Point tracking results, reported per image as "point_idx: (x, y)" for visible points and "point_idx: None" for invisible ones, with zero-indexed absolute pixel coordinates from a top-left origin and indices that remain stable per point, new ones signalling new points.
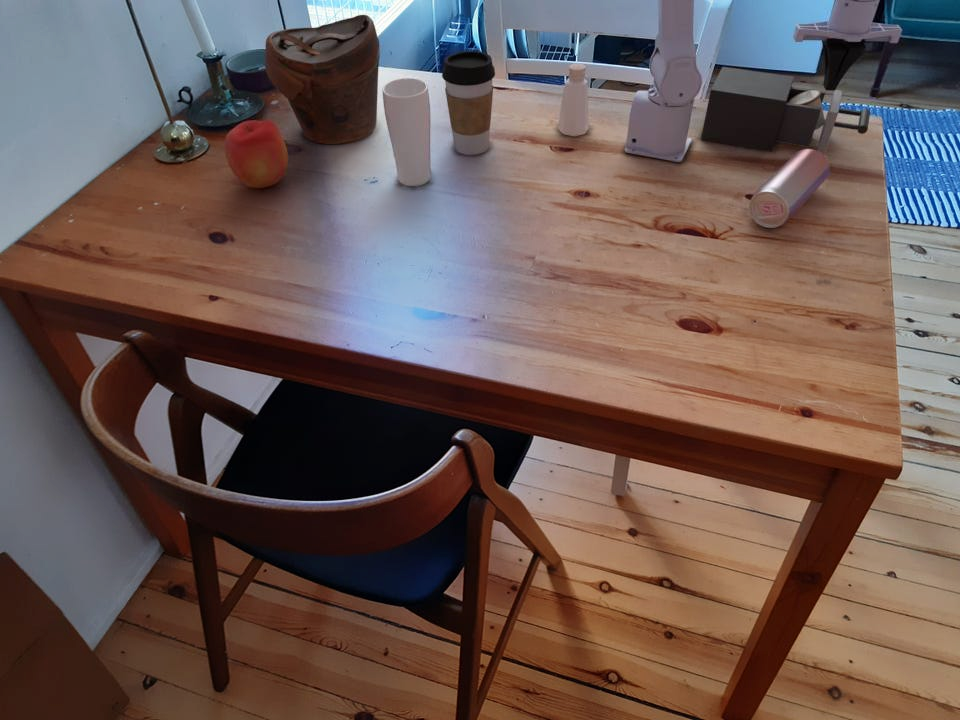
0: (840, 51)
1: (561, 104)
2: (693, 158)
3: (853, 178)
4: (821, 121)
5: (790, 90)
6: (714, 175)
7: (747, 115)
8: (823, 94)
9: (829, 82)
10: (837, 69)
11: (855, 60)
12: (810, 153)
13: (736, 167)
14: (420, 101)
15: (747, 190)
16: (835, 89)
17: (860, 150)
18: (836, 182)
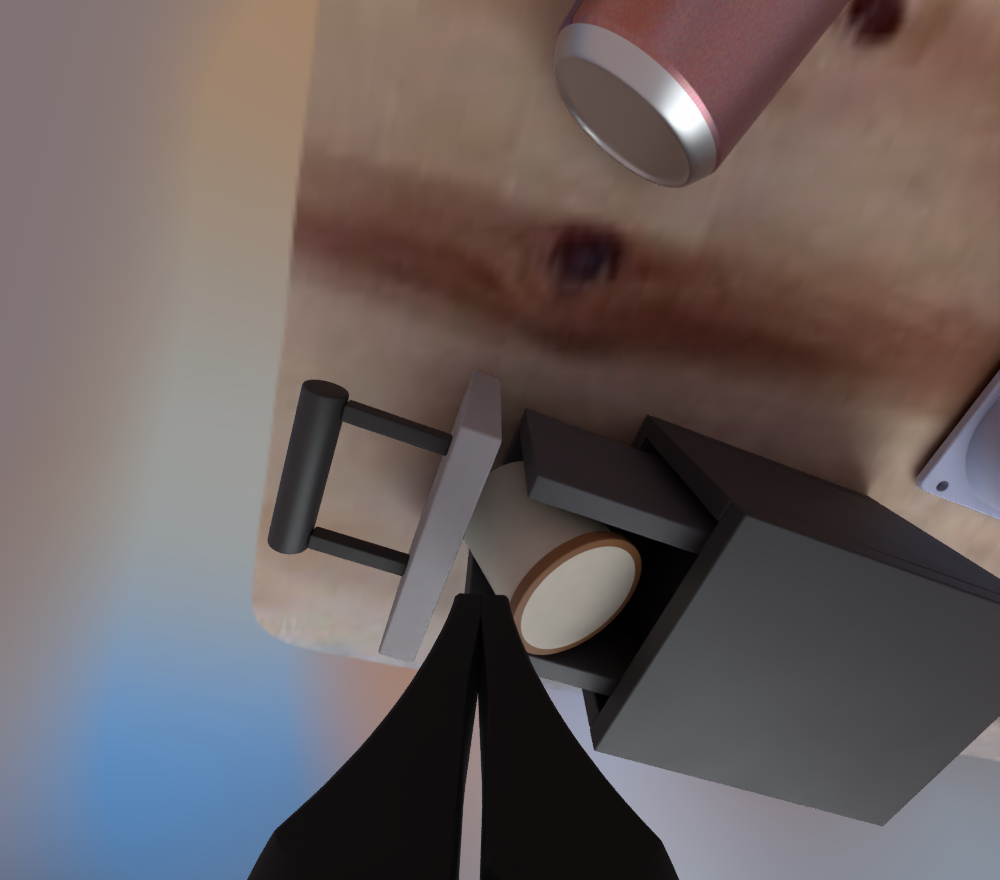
0: (561, 871)
1: None
2: (960, 361)
3: (389, 206)
4: (487, 491)
5: (609, 670)
6: (944, 223)
7: (828, 511)
8: None
9: (509, 624)
10: (489, 695)
11: (352, 763)
12: (720, 6)
13: (826, 292)
14: None
15: (865, 85)
16: (455, 598)
17: None
18: (466, 169)
